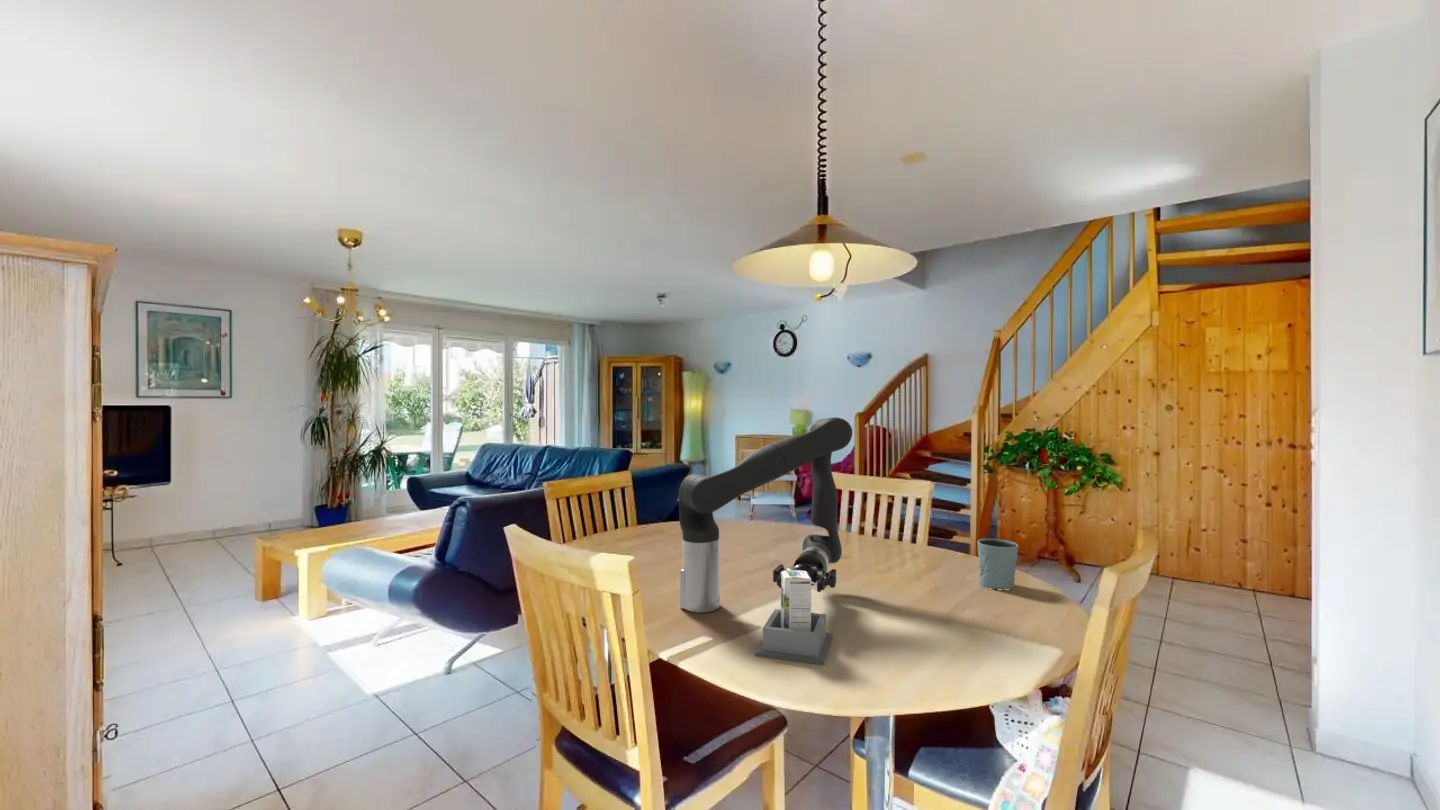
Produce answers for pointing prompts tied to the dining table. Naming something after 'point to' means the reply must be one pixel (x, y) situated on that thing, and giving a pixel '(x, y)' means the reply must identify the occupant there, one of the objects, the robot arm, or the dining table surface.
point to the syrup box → (796, 600)
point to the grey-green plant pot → (997, 563)
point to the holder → (795, 640)
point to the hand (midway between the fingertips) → (799, 585)
